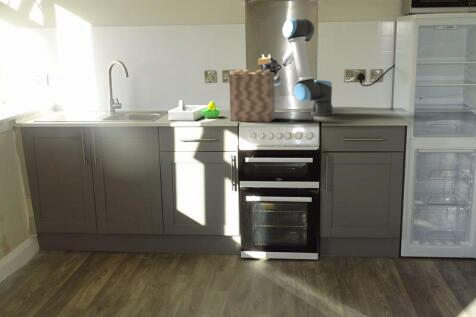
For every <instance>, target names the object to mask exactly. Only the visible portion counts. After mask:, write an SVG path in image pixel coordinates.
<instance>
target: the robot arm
mask: <svg viewBox="0 0 476 317" xmlns="http://www.w3.org/2000/svg"><path fill="white" fill-rule="evenodd" d="M314 34H315V25H314V23H313V22H312V20H309V19H307V18H305V19H304V18H302V19H301V18H299V19H298V18H296V19H295V18H291V19H287V20H286V21H285V22H284V24H283V27H282V35H283V36H284V38H286V39H287V40H288V43H289V44H291V45H290V46H289V48H288V49H287V51H286V52H285V54H284V55H283V56H284V57H283V56H282V58H283V62H282V63H283V65H284V66H287V65H289V64H291V65H292V63H293V62H294V64H295V65H294V66H295V70H296V74H297V81H296V85H295V86H294V91H293V92H294V96H295V97H296V99H297V100H299V101H300V102H311V101H313V105H312V108H311V111H310V114H311V116H315V117H331V116H334V115H335V111H334V108H333V104H332V97H333V94H332V93H333V87H332V86H333V85H332V81H330V80H322V79H321V80H319V79H314V78H313V77H312V74H311V68H310V65H309V64H310V63H309V60H308V53H307V48H306V44H307V43H308V42H310V41H311V40H312V38H313V36H314ZM261 56H262V57H261V58H266V57H265V55H264V54H261ZM267 57H268V59H269V61H270V63H268V64H265V65H259V66H260V70H262V71H263V70H264V71H266V70H270V72H274V87H276V86H277V87H278V86H279V85H280V84H281V83H282V82H281V81H282V80H281V77H280V75H279V72H278V71H279V70H280V69H281V66H280V65H279V64H278V63H277V62H278V61H277V60H276V59H274V58H273V57H271V54H268V56H267ZM292 61H293V62H292ZM264 71H263V72H264Z"/></svg>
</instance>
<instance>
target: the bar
mask: <svg viewBox="0 0 476 317" xmlns="http://www.w3.org/2000/svg"><path fill="white" fill-rule="evenodd" d="M268 57H269V56H267V57H265V58H262V57H261V58H257V65H258V66H260V65H265V64H268V63H270V61H269V59H268Z"/></svg>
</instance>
